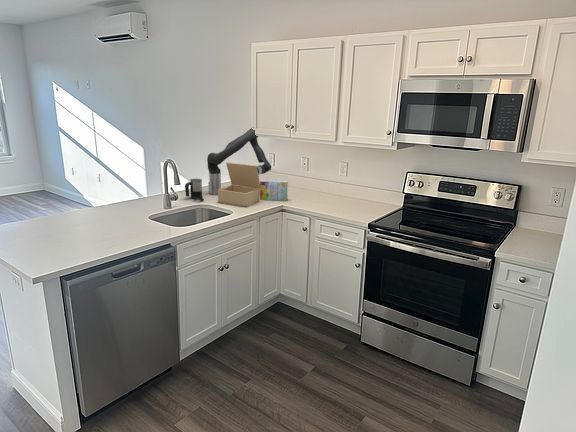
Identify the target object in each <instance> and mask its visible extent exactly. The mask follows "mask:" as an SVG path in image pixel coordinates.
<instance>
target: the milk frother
mask: <svg viewBox="0 0 576 432" xmlns="http://www.w3.org/2000/svg"><path fill="white" fill-rule="evenodd" d="M202 180H203V179H201V178H191V179H190V181H188V182H186V183H185V185H184V189H185V196H186V197H187V198H188V197H190V199H192V200H198V201H200V202H203V201H205V199H204V198H203V185H202V184H203V183H202V182H203V181H202Z"/></svg>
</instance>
